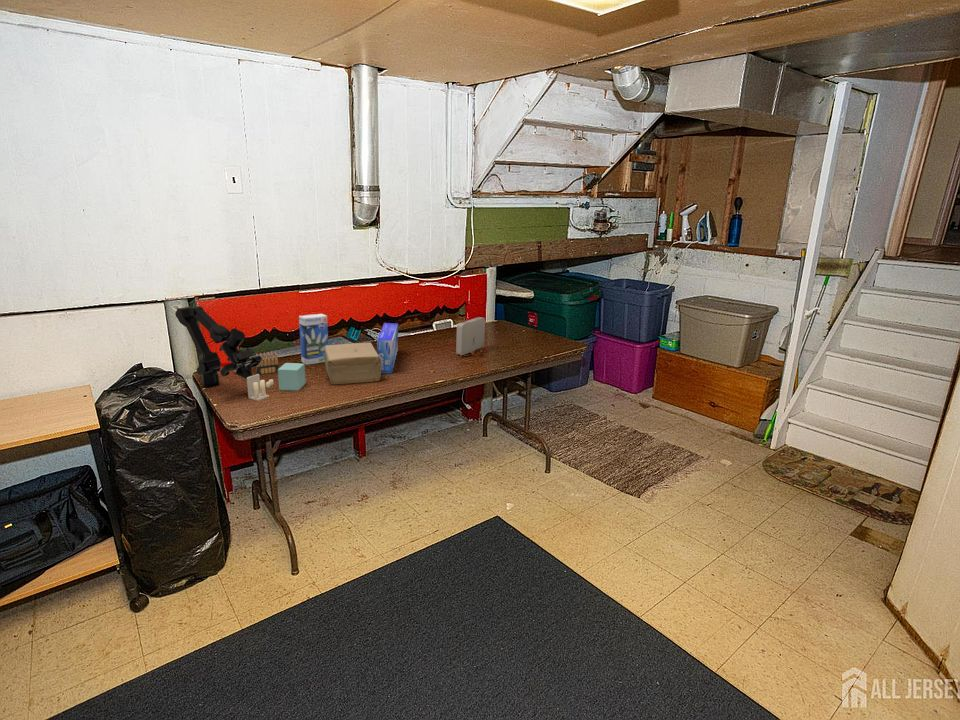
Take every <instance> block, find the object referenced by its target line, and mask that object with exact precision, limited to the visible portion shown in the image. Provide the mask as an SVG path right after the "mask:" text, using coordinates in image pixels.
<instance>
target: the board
mask: <svg viewBox="0 0 960 720" xmlns="http://www.w3.org/2000/svg"><path fill="white" fill-rule="evenodd" d="M272 385H273V386H274V379H273V378H271V379H268V381H266V382H265V389H266V388H271V386H272Z"/></svg>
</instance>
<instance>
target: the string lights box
mask: <svg viewBox="0 0 960 720" xmlns="http://www.w3.org/2000/svg"><path fill="white" fill-rule="evenodd" d="M298 325H299V341H300V357H301V358H300V361H301V362H302V364H305V366H307V365H313V364H314V365H315V364H321V363H325V354H324V351H325V346H327V345H329V332H328V331H329V329H328V328H329V327H328V315H326V314H324V313H317V314H316V313H314V314H305V315H298Z"/></svg>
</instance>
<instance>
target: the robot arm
mask: <svg viewBox="0 0 960 720" xmlns="http://www.w3.org/2000/svg"><path fill="white" fill-rule="evenodd" d="M175 317H176V319H177V321H178V322H179V323H180V324H181V325H183V326H184V327H185V328H186V331H187V332H188V333H189V335H190V338H191V340H192V342H193V344H194V345H195V349H196V351H197V352H198V354H199V355H198V356H199V357H198V363H199V365H198V366H197V368H196V373H197V374H198V375H200V377H201V383H200V385H202V386H203V387H204V388H211V387H214V386H215V387H216V386H220V377H219V376H220V375H221V376H222V377H223V378H224V377H228V376H229V374H230V372H233V371H234V375H236V376H240V377H242V378H244V379H245V380H247V377H250V376H253V371H252V369H253V368H255V367H256V366H258V365H259V364H260V362H261V361H262V360H264V358H263V357H262V358H263V359H262V358H261V357H260V355H258V356H256V355H255V356H253V354H256V353H255V350H254V348H253V347H248V348H246V350H242V349H239V348H238V347H240V345H242V343H243V342H244V340H245V338H246V335H245V333H244V332H243V331H242V330H238V329H237V328H234V327H233V328H231V329H230V330H229V329H228V328H227V327H225V326H224V325H220V324H218V323H217V322H216V321H215V319H213V318H212V317H211V316H210V315H209V314H208V313H207V312H206V311H205V309H204V307H202V306H200V305H198V306H186V307H179V308H177V309H176V310H175ZM198 322H199V324H201V325H202V326H203V327H204V328H205V329H206V330H207V332H209V338H210V339H211V340H212V342H214V343H215V344H220V345H219V352H222V351H223V353H224V354H225V355H226V357H227V361H228V362H230V363H228V364H224V365H223V367H222V368H221V366H222V362H221V358H220V357H219V355H218V353H217V351H215V352H214V351H212V350H211V349H210V347H209V345H208V342H207V340H206V339H205V337H204V334H203V332H202V330H201V329H200V325H199V324H198ZM218 372H220V375H219V374H218Z"/></svg>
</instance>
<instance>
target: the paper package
mask: <svg viewBox="0 0 960 720" xmlns="http://www.w3.org/2000/svg"><path fill="white" fill-rule="evenodd" d="M324 354H325V362H324V365H325V370H326V374H327V376H328V378H329V381H330V383H331V385H345V384H346V385H348V384H357V383H359V384H360V383H370V382H371V383H374V381H375V382H379V381H380V380H381V378H382V373H381V358H380V357H379V355H378V353H377V349H376V348H375V347H374V346H373V344H372V342H355V343H354V342H353V343H343V344H328V345H327V346H325V351H324Z"/></svg>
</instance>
